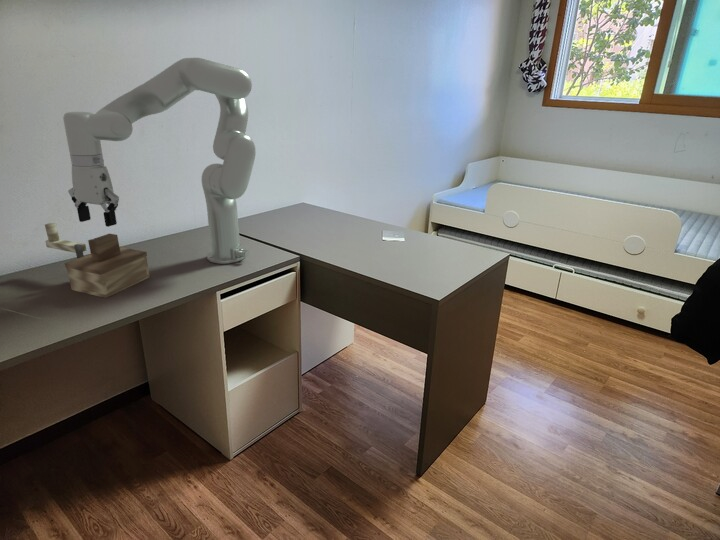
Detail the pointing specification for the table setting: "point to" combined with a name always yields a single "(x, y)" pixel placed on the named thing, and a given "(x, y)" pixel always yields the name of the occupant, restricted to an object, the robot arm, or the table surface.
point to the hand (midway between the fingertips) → (98, 223)
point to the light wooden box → (107, 277)
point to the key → (59, 240)
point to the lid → (105, 256)
